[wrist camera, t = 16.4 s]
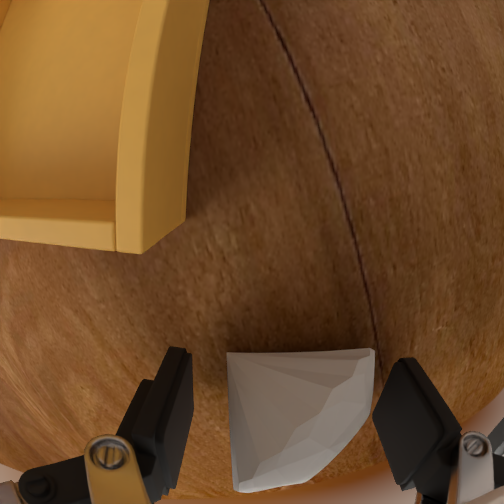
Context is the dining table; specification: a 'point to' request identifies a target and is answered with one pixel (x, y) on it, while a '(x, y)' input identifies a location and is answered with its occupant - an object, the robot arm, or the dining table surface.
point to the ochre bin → (96, 119)
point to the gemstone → (294, 412)
